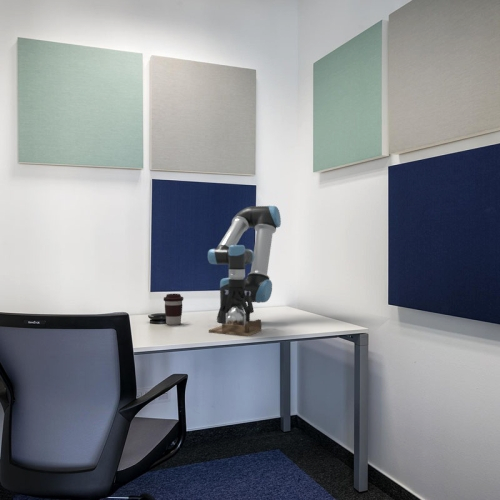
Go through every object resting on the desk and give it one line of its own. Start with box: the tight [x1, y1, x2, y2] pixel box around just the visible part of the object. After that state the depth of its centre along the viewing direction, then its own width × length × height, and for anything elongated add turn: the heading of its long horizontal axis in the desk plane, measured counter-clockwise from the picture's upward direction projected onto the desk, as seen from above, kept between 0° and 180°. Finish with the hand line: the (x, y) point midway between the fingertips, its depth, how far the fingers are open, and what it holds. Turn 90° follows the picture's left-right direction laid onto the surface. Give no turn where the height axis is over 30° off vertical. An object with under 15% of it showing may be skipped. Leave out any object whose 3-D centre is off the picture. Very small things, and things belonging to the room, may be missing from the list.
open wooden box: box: [208, 319, 262, 337], centre depth 218 cm, size 20×14×5 cm
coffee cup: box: [163, 293, 184, 326], centre depth 239 cm, size 10×10×15 cm
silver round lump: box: [227, 307, 246, 326], centre depth 217 cm, size 9×10×10 cm
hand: (236, 327), depth 217 cm, fingers closed on silver round lump, 9 cm apart
